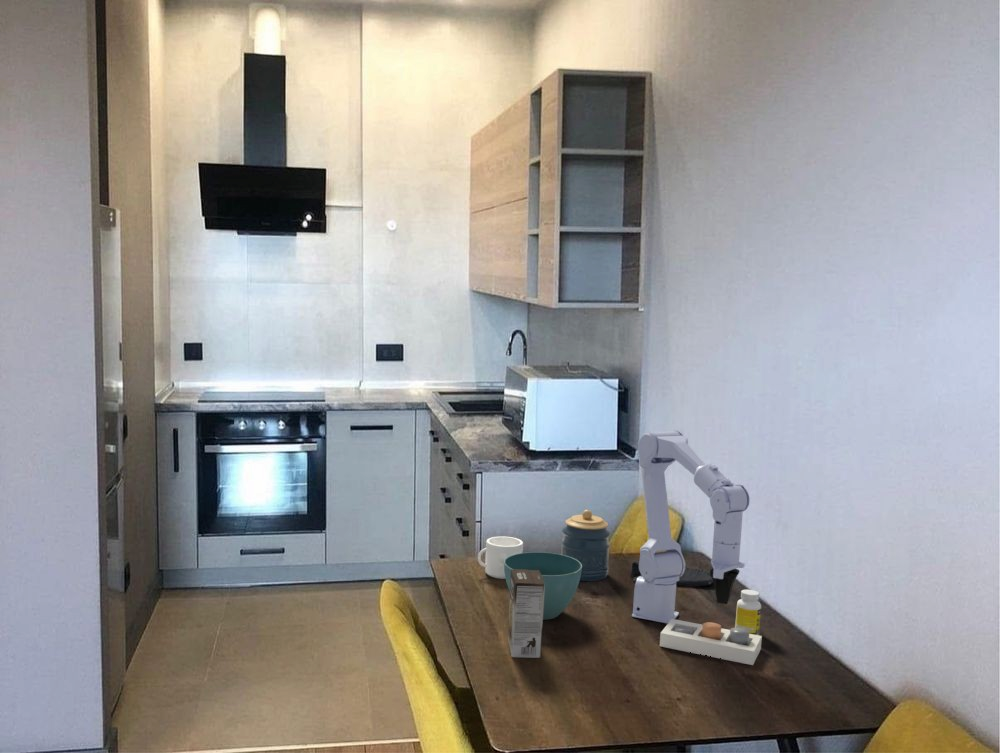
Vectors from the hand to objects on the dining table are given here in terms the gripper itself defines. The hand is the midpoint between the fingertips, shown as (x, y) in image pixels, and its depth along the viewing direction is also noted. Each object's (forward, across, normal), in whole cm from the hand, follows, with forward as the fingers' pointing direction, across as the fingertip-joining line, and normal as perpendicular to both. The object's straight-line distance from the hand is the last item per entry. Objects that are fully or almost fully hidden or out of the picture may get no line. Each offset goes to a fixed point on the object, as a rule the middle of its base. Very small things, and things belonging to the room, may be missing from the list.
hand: (722, 602), depth 208 cm
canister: (+10, +34, +43) cm, 56 cm away
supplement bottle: (+11, +13, -4) cm, 17 cm away
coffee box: (+11, -22, +37) cm, 44 cm away
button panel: (+11, 0, +2) cm, 11 cm away
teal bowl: (+10, 0, +42) cm, 43 cm away
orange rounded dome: (+8, 0, +2) cm, 9 cm away
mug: (+10, +20, +62) cm, 66 cm away
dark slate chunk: (+11, +44, +22) cm, 51 cm away
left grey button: (+10, 0, +8) cm, 13 cm away
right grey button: (+8, 0, -4) cm, 9 cm away
